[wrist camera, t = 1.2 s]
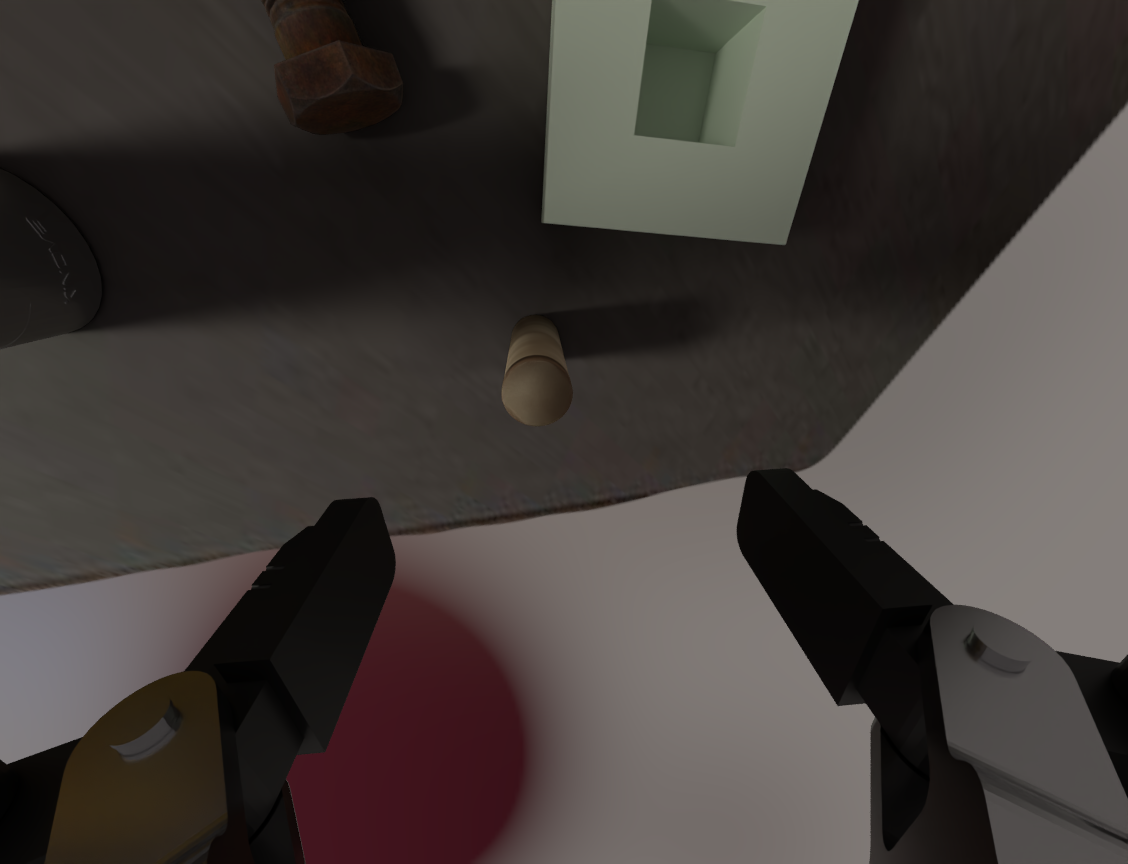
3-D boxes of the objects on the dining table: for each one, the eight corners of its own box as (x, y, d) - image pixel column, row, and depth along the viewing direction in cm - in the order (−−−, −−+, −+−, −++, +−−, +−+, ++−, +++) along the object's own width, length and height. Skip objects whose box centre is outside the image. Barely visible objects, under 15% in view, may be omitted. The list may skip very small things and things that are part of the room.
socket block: (541, 222, 24) (543, 222, 19) (555, -68, 19) (565, -182, 13) (732, 240, 25) (785, 245, 20) (797, -28, 20) (894, -118, 15)
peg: (510, 360, 28) (501, 424, 19) (511, 312, 26) (501, 358, 18) (557, 363, 28) (569, 427, 19) (560, 316, 27) (575, 362, 18)
